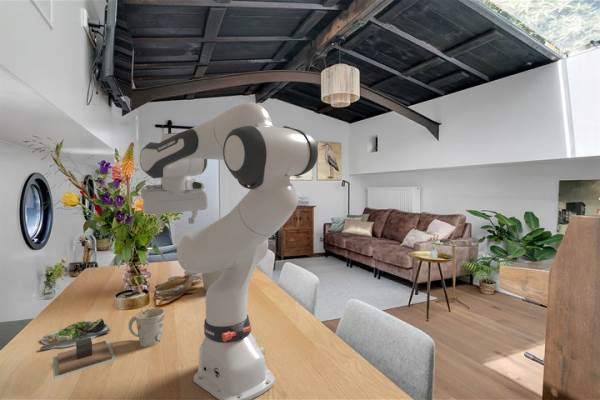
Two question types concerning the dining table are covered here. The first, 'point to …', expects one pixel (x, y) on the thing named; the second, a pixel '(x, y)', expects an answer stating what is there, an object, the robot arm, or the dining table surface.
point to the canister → (210, 278)
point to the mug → (148, 326)
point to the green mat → (56, 368)
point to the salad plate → (74, 334)
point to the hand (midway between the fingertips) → (177, 225)
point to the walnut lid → (83, 355)
